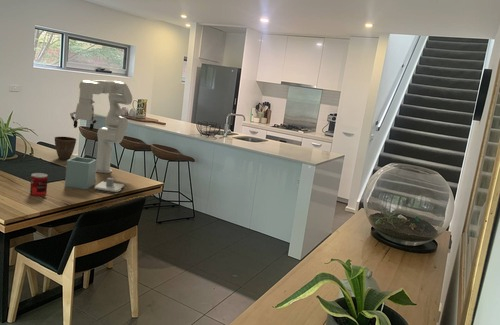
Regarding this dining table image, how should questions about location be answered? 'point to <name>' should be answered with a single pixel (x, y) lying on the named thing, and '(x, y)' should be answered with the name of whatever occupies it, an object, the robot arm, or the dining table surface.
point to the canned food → (38, 184)
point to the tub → (80, 172)
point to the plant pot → (64, 147)
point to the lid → (109, 185)
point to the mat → (107, 191)
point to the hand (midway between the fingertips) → (83, 128)
